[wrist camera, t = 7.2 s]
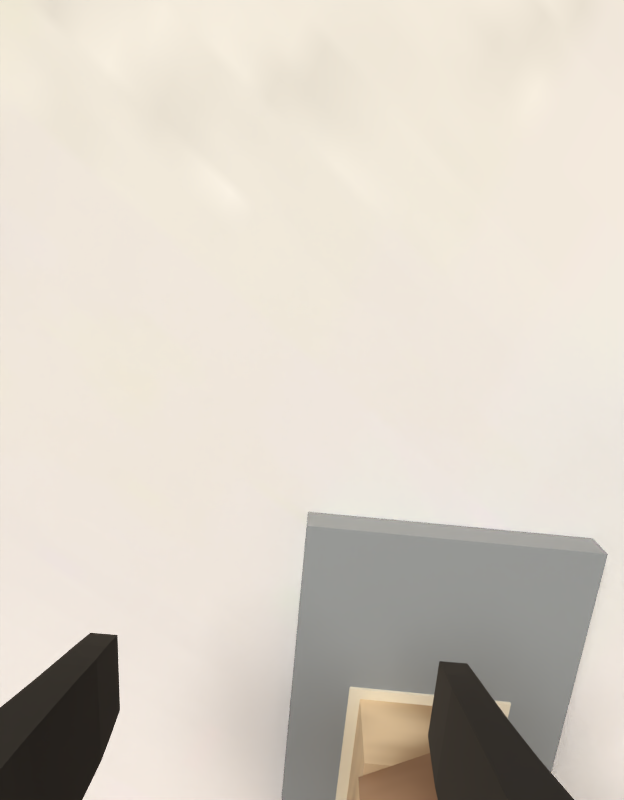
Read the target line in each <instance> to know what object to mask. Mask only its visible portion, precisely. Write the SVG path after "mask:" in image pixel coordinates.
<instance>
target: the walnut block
mask: <svg viewBox="0 0 624 800" xmlns="http://www.w3.org/2000/svg"><path fill="white" fill-rule="evenodd" d="M358 781H359V799H360V800H438V798H437V794H436V790H435V784H434V777H433V770H432V763H431V756H430V753H428V754H425V755H422V756H419V757H416V758H413V759H411V760H408V761H405V762H402V763H399V764H396V765H393V766H390V767H387V768H384V769H381V770H378V771H375V772H372V773H369V774H366V775H363V776H360V777H358Z"/></svg>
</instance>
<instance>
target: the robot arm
mask: <svg viewBox="0 0 624 800" xmlns="http://www.w3.org/2000/svg"><path fill="white" fill-rule="evenodd" d="M119 711H120V703H119V673H118V642H117V635H109V634H97V633H90V634H89V635H87V636H86V637H85V638H84V639H83V640H81V641H80V642H79V643H78V644H76V645H75V646H74V647H73V648H72V649H70V650H69V651H68V652H67V653H66V654H65V655H63V656H62V657H61V658H60V659H59V660H57V661H56V662H55V663H54V664H53V665H52V666H50V667H49V668H48V669H47V670H46V671H44V672H43V673H42V674H41V675H40V676H38V677H37V678H36V679H35V680H34V681H32V682H31V683H30V684H29V685H28V686H26V687H25V688H24V689H23V690H21V691H20V692H19V693H18V694H16V695H15V696H14V697H13V698H12V699H10V700H9V701H8V702H7V703H5V704H4V705H3V706H2V707H0V800H82V799H83V797H84V795H85V793H86V791H87V789H88V787H89V785H90V783H91V781H92V779H93V776H94V774H95V772H96V770H97V768H98V766H99V764H100V762H101V760H102V757H103V754H104V752H105V749H106V746H107V744H108V741H109V739H110V736H111V733H112V730H113V727H114V725H115V722H116V719H117V716H118V713H119ZM428 740H429V748H430V756H431V763H432V770H433V777H434V784H435V790H436V794H437V798H438V800H574V799H573V798H572V797H571V796H570V794H569V793H568V792H567V791H566V790H565V789H564V787H563V786H562V785H561V784H560V783H559V782H558V781H557V779H556V778H555V777H554V776H553V775H552V774H551V772H550V771H549V770H548V769H547V768H546V766H545V765H544V764H543V763H542V761H541V760H540V759H539V758H538V757H537V755H536V754H535V753H534V752H533V750H532V749H531V748H530V747H529V745H528V744H527V743H526V741H525V740H524V739H523V738H522V736H521V735H520V734H519V733H518V731H517V730H516V729H515V727H514V726H513V725H512V724H511V722H510V721H509V720H508V718H507V717H506V716H505V714H504V713H503V712H502V710H501V709H500V707H499V706H498V705H497V703H496V702H495V701H494V699H493V698H492V697H491V695H490V694H489V692H488V691H487V690H486V688H485V687H484V686H483V684H482V683H481V681H480V680H479V679H478V677H477V676H476V674H475V673H474V672H473V670H472V669H471V668H470V666H469V665H468V664H467V663H456V662H444V661H439V667H438V673H437V680H436V686H435V693H434V699H433V706H432V712H431V718H430V725H429V731H428Z"/></svg>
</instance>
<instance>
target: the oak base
mask: <svg viewBox="0 0 624 800" xmlns="http://www.w3.org/2000/svg"><path fill="white" fill-rule="evenodd" d="M431 712H432V706H428V705H417V704H407V703H397V702H387V701H376V700H366V699H360V703H359V710H358V718H357V725H356V733H355V740H354V748H353V755H352V763H351V770H350V778H349V785H348V793H347V800H360V799H359V781H358V777H360V776H363V775H366V774H369V773H372V772H375V771H378V770H381V769H384V768H387V767H390V766H393V765H396V764H399V763H402V762H405V761H408V760H411V759H413V758H416V757H419V756H422V755H425V754H428V753H430V748H429V740H428V731H429V725H430V718H431Z"/></svg>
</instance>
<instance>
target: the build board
mask: <svg viewBox="0 0 624 800" xmlns="http://www.w3.org/2000/svg"><path fill="white" fill-rule="evenodd" d="M607 555H608V554H607V553H606V552H605V551H604V550H603V549H602V548H601V547H600V546H599V545H598V544H597V543H596V542H595V541H594V540H593V539H591V538H580V537H569V536H559V535H548V534H537V533H527V532H516V531H505V530H494V529H484V528H473V527H462V526H452V525H441V524H430V523H420V522H409V521H398V520H388V519H377V518H366V517H356V516H345V515H334V514H323V513H313V512H308V518H307V529H306V540H305V551H304V562H303V573H302V583H301V594H300V605H299V616H298V627H297V638H296V649H295V659H294V670H293V681H292V692H291V703H290V714H289V724H288V735H287V746H286V757H285V768H284V779H283V789H282V800H347V793H348V785H349V778H350V770H351V763H352V755H353V748H354V740H355V733H356V725H357V718H358V710H359V703H360V699H366V700H376V701H387V702H397V703H407V704H417V705H428V706H433V699H434V693H435V686H436V680H437V673H438V667H439V661H444V662H456V663H467V664H468V665H469V666H470V668H471V669H472V670H473V672H474V673H475V674H476V676H477V677H478V679H479V680H480V681H481V683H482V684H483V686H484V687H485V688H486V690H487V691H488V692H489V694H490V695H491V697H492V698H493V699H494V701H495V702H496V703H497V705H498V706H499V707H500V709H501V710H502V712H503V713H504V714H505V716H506V717H507V718H508V720H509V721H510V722H511V724H512V725H513V726H514V727H515V729H516V730H517V731H518V733H519V734H520V735H521V736H522V738H523V739H524V740H525V741H526V743H527V744H528V745H529V747H530V748H531V749H532V750H533V752H534V753H535V754H536V755H537V757H538V758H539V759H540V760H541V761H542V763H543V764H544V765H545V766H546V768H547V769H548V770H549V771H550V772H551V771H552V767H553V763H554V759H555V755H556V751H557V747H558V744H559V740H560V736H561V732H562V728H563V724H564V720H565V717H566V713H567V709H568V705H569V701H570V697H571V693H572V690H573V686H574V682H575V678H576V674H577V670H578V666H579V663H580V659H581V655H582V651H583V647H584V643H585V639H586V636H587V632H588V628H589V624H590V620H591V616H592V612H593V609H594V605H595V601H596V597H597V593H598V589H599V586H600V582H601V578H602V574H603V570H604V566H605V562H606V559H607Z"/></svg>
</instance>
